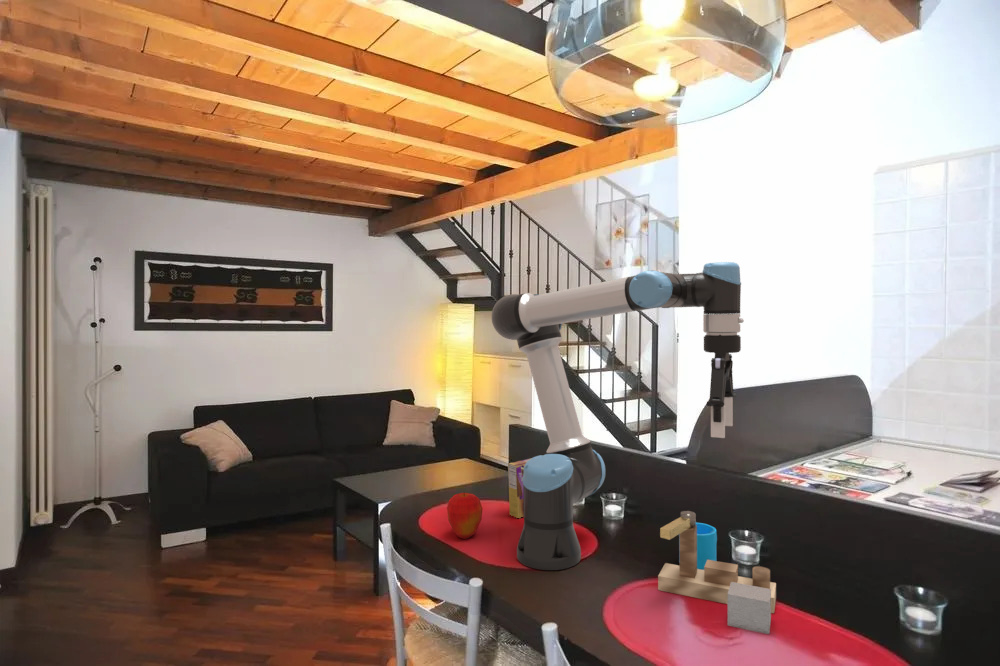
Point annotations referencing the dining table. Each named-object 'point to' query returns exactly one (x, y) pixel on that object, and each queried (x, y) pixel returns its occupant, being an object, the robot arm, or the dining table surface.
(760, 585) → the wooden base with post
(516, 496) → the candy box
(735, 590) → the gray rectangular block
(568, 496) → the robot arm
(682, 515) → the lever
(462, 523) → the apple
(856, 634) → the dining table surface
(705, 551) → the mug
